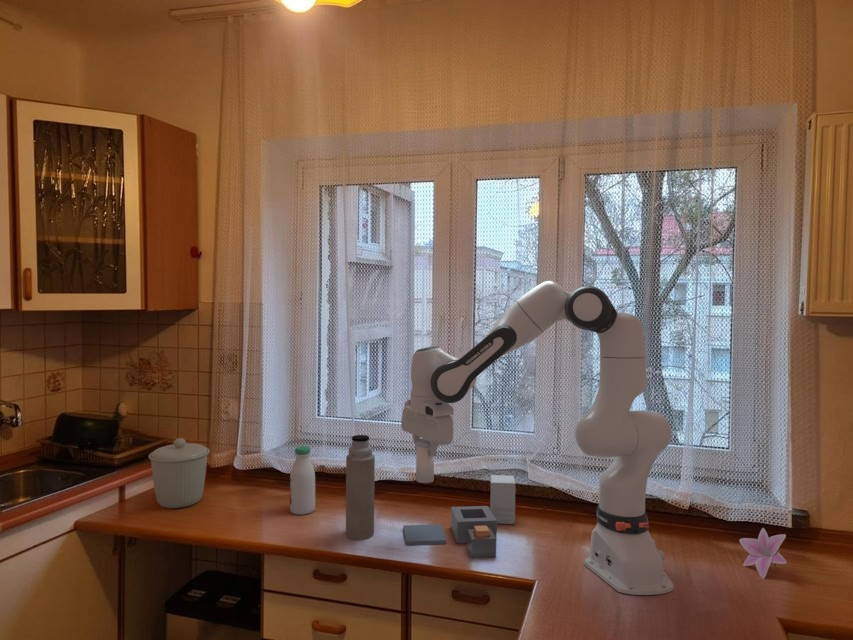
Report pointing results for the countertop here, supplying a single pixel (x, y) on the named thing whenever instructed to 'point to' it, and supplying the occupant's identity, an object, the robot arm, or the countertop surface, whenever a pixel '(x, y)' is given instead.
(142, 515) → the countertop surface
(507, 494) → the supplement box
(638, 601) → the countertop surface
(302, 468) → the milk bottle
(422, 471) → the cylinder
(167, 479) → the canister
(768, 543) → the lily
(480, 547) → the frame
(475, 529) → the plunger
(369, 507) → the thermos bottle
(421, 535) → the mat
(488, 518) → the housing
